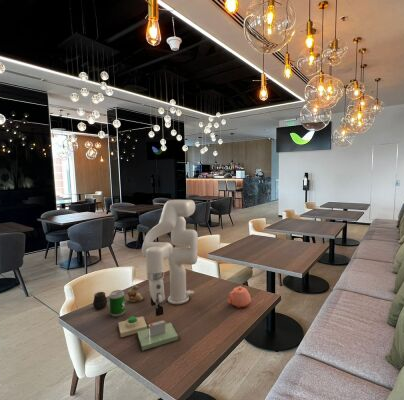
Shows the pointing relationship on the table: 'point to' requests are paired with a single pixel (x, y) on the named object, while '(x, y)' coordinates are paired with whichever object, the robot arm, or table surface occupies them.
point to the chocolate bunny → (134, 294)
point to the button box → (132, 326)
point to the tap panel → (157, 337)
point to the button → (132, 319)
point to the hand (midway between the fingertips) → (157, 309)
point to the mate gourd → (99, 300)
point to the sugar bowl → (239, 297)
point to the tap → (156, 328)
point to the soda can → (117, 303)
